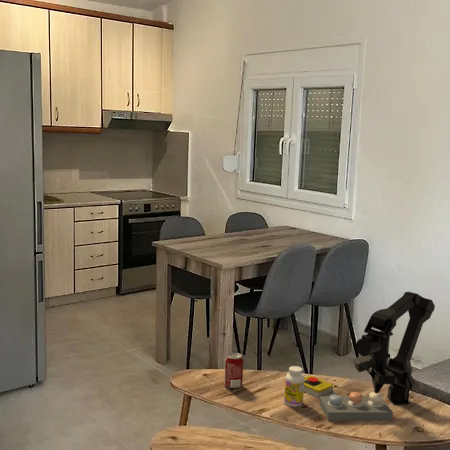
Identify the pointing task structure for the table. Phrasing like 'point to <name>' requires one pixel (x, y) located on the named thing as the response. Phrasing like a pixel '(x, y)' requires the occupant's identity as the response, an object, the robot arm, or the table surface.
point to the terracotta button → (356, 397)
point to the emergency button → (318, 387)
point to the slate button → (335, 399)
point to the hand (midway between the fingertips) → (376, 392)
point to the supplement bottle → (294, 387)
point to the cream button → (375, 397)
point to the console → (355, 410)
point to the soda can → (233, 370)
